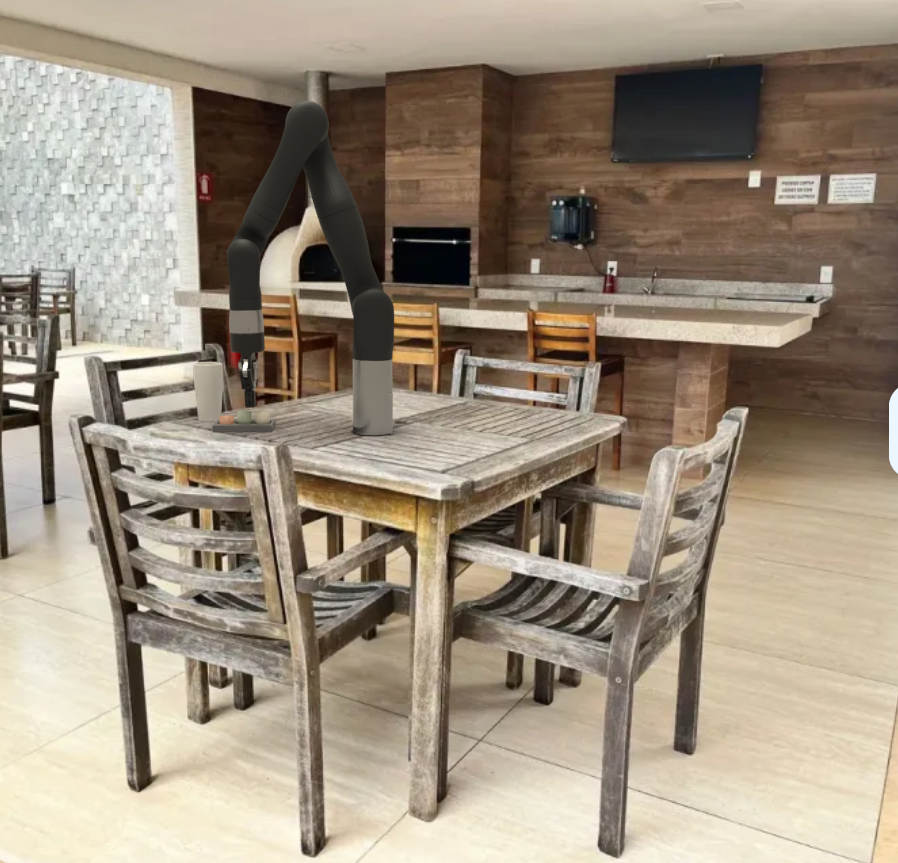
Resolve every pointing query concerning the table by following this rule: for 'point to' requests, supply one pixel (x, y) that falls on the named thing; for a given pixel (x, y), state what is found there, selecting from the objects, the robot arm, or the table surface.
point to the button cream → (262, 417)
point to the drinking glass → (208, 389)
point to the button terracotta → (226, 419)
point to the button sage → (244, 417)
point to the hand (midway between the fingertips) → (250, 407)
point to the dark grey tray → (244, 427)
